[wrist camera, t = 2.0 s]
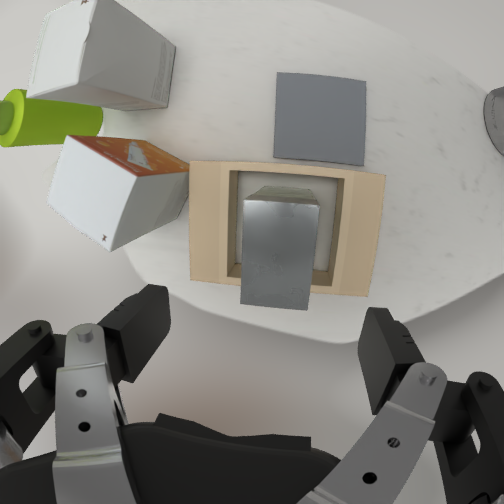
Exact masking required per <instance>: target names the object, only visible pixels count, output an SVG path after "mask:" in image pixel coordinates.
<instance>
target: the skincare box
mask: <svg viewBox="0 0 504 504" xmlns="http://www.w3.org/2000/svg"><path fill="white" fill-rule="evenodd" d="M174 54H175V46H174V45H173V44H172V43H171V42H170V41H168V40H167V39H166V38H164V37H163V36H162V35H161V34H159V33H158V32H157V31H156V30H154V29H153V28H152V27H150V26H149V25H148V24H146V23H145V22H144V21H142V20H141V19H140V18H138V17H137V16H136V15H134V14H133V13H132V12H130V11H129V10H127V9H126V8H124V7H123V6H122V5H120V4H119V3H117V2H116V1H114V0H74V1H72V2H70V3H68V4H66V5H64V6H61V7H59V8H57V9H55V10H53V11H52V12H50V13H48V14H46V15H45V19H44V21H43V25H42V28H41V31H40V35H39V38H38V42H37V46H36V50H35V55H34V59H33V63H32V68H31V73H30V77H29V83H28V89H27V95H26V98H32V99H45V100H55V101H64V102H72V103H79V104H86V105H92V106H99V107H105V108H110V109H116V110H121V111H129V110H140V109H152V108H167V106H168V97H169V89H170V82H171V74H172V67H173V60H174Z"/></svg>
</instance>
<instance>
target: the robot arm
mask: <svg viewBox="0 0 504 504" xmlns="http://www.w3.org/2000/svg"><path fill="white" fill-rule="evenodd" d="M484 115H485V122H486V126H487V130H488V133H489V135H490V138H491V140H492V142H493V144H494V145H495V146H496V148H497V149H498V150H499V152H500V153H501V154H502V155H504V87H501V88H498V89H494V90H492V91H491V92H490V93H489V94H488V96H487V98H486V101H485V106H484ZM170 325H171V317H170V306H169V294H168V289H167V287H165V286H159V285H153V284H148V285H147V286H146V287H144V288H143V289H142V290H141V291H140V292H139V293H138V294H134V295H132V296H130V297H128V298H126V299H125V300H123V301H122V302H121V303H120V304H119V305H118V306H117V307H115V308H114V310H112V311H111V312H110V313H109V314H108V315H106V316H105V317H104V318H103V319H102V320H101V321H100V322H99V323H98V324H91V323H87V324H81V325H78V326H75V327H74V328H72V329H71V330H70V331H69V332H68V333H67V335H61V334H53V331H52V328H51V325H50V323H49V322H47V321H44V320H36V321H32V322H29V323H27V324H26V325H24V326H23V327H22V328H21V329H19V330H18V331H17V332H16V333H14V334H13V335H12V336H11V337H9V338H8V339H7V340H6V341H5V342H4V343H2V344H1V345H0V504H393V502H394V500H395V499H396V498H397V496H398V494H399V493H400V491H401V490H402V488H403V486H404V485H405V483H406V481H407V480H408V478H409V476H410V474H411V472H412V471H413V469H414V467H415V465H416V463H417V461H418V459H419V457H420V455H421V453H422V451H423V449H424V447H425V445H426V443H427V441H428V440H430V441H433V442H434V446H435V449H436V454H437V458H438V462H439V466H440V471H441V475H442V480H443V485H444V490H445V495H446V501H447V504H504V391H503V389H502V388H501V386H500V384H499V383H498V381H497V380H496V379H495V378H494V377H493V376H491V375H490V374H488V373H485V372H474V373H472V374H471V375H470V376H469V378H468V379H467V381H466V383H459V382H453V381H447V376H446V374H445V373H444V371H443V370H442V369H441V368H439V367H438V366H436V365H434V364H431V363H426V362H425V360H424V358H423V356H422V354H421V353H420V351H419V349H418V347H417V345H416V344H415V343H414V340H413V339H412V337H411V335H410V333H409V331H408V329H407V328H406V327H405V326H404V325H403V324H401V323H400V322H399V321H394V319H393V317H392V315H391V314H390V312H389V310H388V309H387V308H376V307H369V308H368V309H367V312H366V316H365V320H364V324H363V327H362V331H361V335H360V338H359V343H358V356H359V361H360V364H361V368H362V372H363V376H364V380H365V384H366V388H367V393H368V397H369V401H370V406H371V410H372V415H377V416H376V417H375V419H374V420H373V421H372V423H371V424H370V425H369V427H368V428H367V429H366V431H365V432H364V433H363V435H362V436H361V437H360V439H359V440H358V441H357V442H356V443H355V445H354V446H353V447H352V448H351V450H350V451H349V452H348V453H347V454H346V456H345V457H344V458H343V459H342V460H340V459H338V458H337V457H335V456H333V455H331V454H329V453H327V452H325V451H322V450H319V449H316V448H312V447H311V437H303V436H288V435H276V434H269V435H256V436H240V437H239V436H238V437H232V436H227V435H225V434H222V433H219V432H217V431H215V430H212V429H210V428H207V427H205V426H203V425H201V424H198V423H196V422H194V421H189V420H185V419H180V418H176V417H173V416H169V415H165V414H162V413H159V415H158V417H157V419H156V421H155V422H140V423H132V424H128V420H127V417H126V413H125V409H124V405H123V400H122V397H121V391H120V388H119V385H118V384H119V382H120V381H121V380H124V381H127V382H130V383H134V381H135V380H136V378H137V377H138V375H139V374H140V372H141V371H142V370H143V368H144V367H145V365H146V364H147V362H148V361H149V360H150V358H151V357H152V355H153V354H154V353H155V351H156V350H157V348H158V347H159V346H160V344H161V343H162V341H163V340H164V339H165V337H166V336H167V334H168V333H169V330H170ZM31 366H33V368H34V370H35V372H36V374H37V378H36V379H35V380H34V381H33V382H32V384H31V385H30V386H29V387H28V388H27V389H26V390H25V391H24V392H23V393H22V392H21V390H20V388H19V380H20V378H21V376H22V375H23V374H24V373H25V372H26V371H27V370H28V369H29V368H30V367H31ZM54 411H55V428H56V447H57V450H56V451H53V452H50V453H47V454H43V455H40V456H37V457H33V458H29V459H26V460H22V458H23V453H24V452H25V451H26V449H27V448H28V446H29V445H30V443H31V442H32V440H33V439H34V438H35V436H36V435H37V434H38V432H39V431H40V429H41V428H42V427H43V425H44V424H45V423H46V421H47V420H48V419H49V417H50V416H51V415H52V413H53V412H54ZM475 429H476V431H477V434H478V437H479V439H480V444H481V445H480V451H479V453H477V450H476V447H475V445H474V441H473V439H472V436H471V434H472V432H473V431H474V430H475Z"/></svg>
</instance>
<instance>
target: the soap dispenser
mask: <svg viewBox="0 0 504 504" xmlns="http://www.w3.org/2000/svg"><path fill="white" fill-rule="evenodd" d="M26 95H27V90H22V89H14V90H12V91H11V92H9V93H8V94H7V96H6V97H5V98H4V100H3V101H0V145H1V146H2V147H14V146H29V145H46V144H47V145H48V144H64V141H65V138H66V136H67V135H79V136H97V134H98V133H99V131H100V128H101V125H102V121H103V113H102V109H101V107H99V106H92V105H86V104H79V103H72V102H64V101H55V100H45V99H32V98H26Z"/></svg>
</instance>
